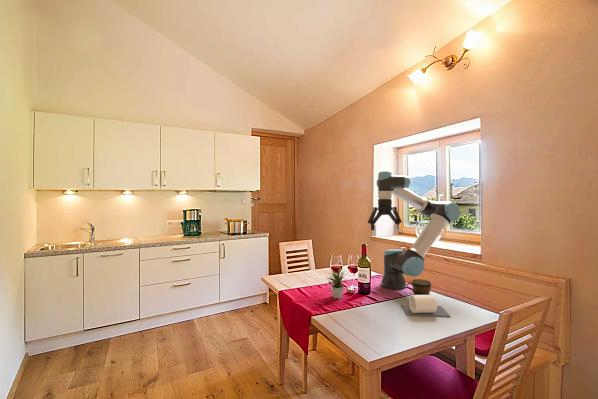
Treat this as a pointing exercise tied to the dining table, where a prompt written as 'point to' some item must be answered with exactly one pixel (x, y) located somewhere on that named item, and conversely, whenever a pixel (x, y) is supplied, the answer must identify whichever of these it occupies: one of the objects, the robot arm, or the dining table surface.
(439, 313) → the mat
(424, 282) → the ceramic cup
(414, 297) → the cup
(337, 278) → the house plant
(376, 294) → the dining table surface
